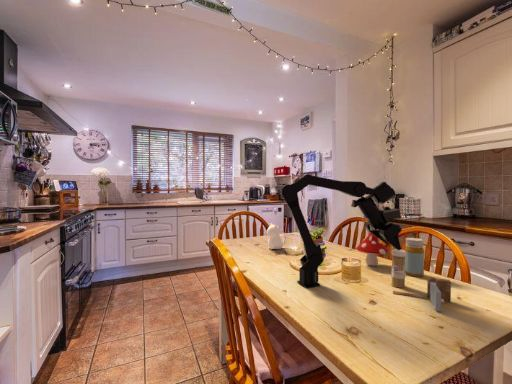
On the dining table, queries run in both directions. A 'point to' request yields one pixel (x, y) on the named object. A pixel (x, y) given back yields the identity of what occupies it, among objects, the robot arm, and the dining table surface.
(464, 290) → the dining table surface
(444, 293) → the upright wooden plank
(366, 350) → the dining table surface
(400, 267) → the sprinkles bottle
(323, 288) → the dining table surface
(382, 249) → the decorative mushroom
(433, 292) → the door
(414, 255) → the bottle
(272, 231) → the cat figurine
